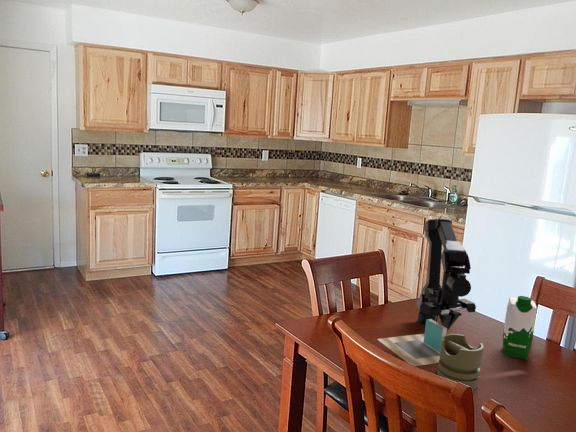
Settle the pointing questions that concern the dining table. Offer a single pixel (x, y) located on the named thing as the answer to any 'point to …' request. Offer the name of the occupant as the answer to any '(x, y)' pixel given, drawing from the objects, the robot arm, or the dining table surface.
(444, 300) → the robot arm
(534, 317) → the milk carton
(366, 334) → the dining table surface
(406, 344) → the board
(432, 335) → the tile
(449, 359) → the piston
